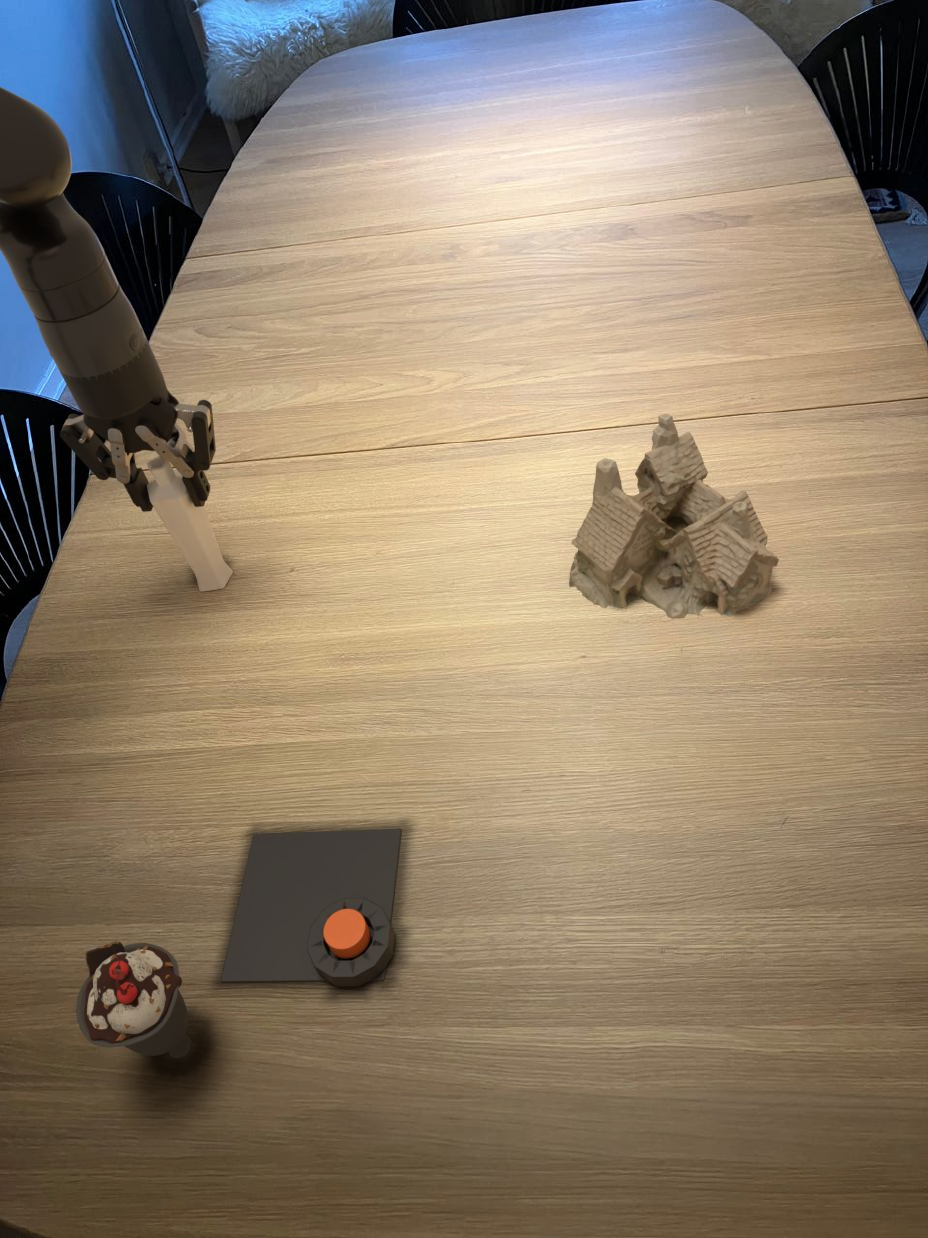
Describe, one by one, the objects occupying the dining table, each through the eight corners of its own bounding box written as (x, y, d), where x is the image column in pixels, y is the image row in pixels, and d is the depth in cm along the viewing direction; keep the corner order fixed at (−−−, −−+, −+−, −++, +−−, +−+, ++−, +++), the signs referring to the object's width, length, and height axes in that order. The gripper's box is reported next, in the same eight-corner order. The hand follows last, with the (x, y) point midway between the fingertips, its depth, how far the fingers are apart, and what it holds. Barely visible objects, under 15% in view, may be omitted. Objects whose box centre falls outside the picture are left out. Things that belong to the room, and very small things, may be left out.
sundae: (230, 1095, 69) (143, 1006, 58) (133, 1109, 70) (29, 1023, 59) (237, 999, 74) (157, 900, 63) (146, 1012, 74) (51, 917, 63)
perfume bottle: (182, 586, 104) (122, 472, 94) (211, 559, 107) (156, 443, 96) (213, 601, 102) (156, 485, 91) (243, 572, 104) (190, 456, 94)
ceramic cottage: (550, 562, 98) (542, 439, 86) (702, 504, 101) (714, 378, 89) (628, 680, 88) (632, 559, 77) (794, 613, 91) (822, 487, 79)
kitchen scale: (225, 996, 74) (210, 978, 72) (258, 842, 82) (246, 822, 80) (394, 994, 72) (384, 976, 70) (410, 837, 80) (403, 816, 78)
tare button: (325, 959, 72) (320, 949, 71) (332, 919, 74) (326, 909, 73) (367, 958, 71) (362, 949, 70) (373, 918, 73) (367, 908, 72)
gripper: (193, 312, 86) (256, 471, 98) (35, 331, 88) (116, 484, 101) (170, 364, 81) (239, 524, 93) (4, 382, 83) (93, 536, 96)
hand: (175, 502), depth 97 cm, fingers closed on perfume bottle, 4 cm apart
